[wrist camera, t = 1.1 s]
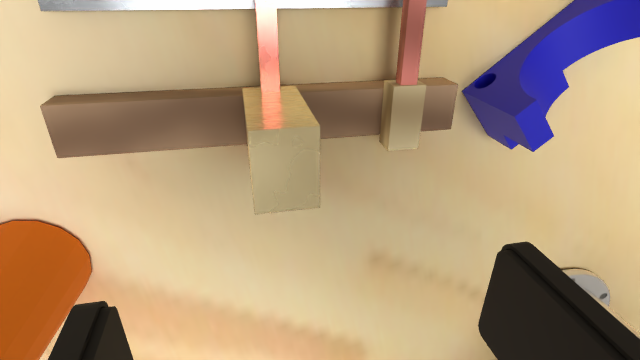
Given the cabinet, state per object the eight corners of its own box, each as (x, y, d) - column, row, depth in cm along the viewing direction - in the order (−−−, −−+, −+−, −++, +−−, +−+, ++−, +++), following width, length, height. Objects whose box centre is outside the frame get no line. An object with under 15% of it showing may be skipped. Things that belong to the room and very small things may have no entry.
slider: (297, 149, 24) (319, 207, 18) (248, 153, 24) (255, 214, 18) (292, -23, 20) (320, -22, 14) (232, -23, 19) (234, -22, 13)
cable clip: (486, 134, 30) (541, 168, 24) (460, 90, 28) (514, 116, 22) (624, 26, 28) (716, 37, 23) (608, -30, 26) (704, -32, 21)
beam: (435, 126, 28) (461, 144, 25) (72, 152, 24) (48, 178, 21) (457, -22, 24) (492, -22, 21) (17, -23, 19) (-24, -23, 16)
